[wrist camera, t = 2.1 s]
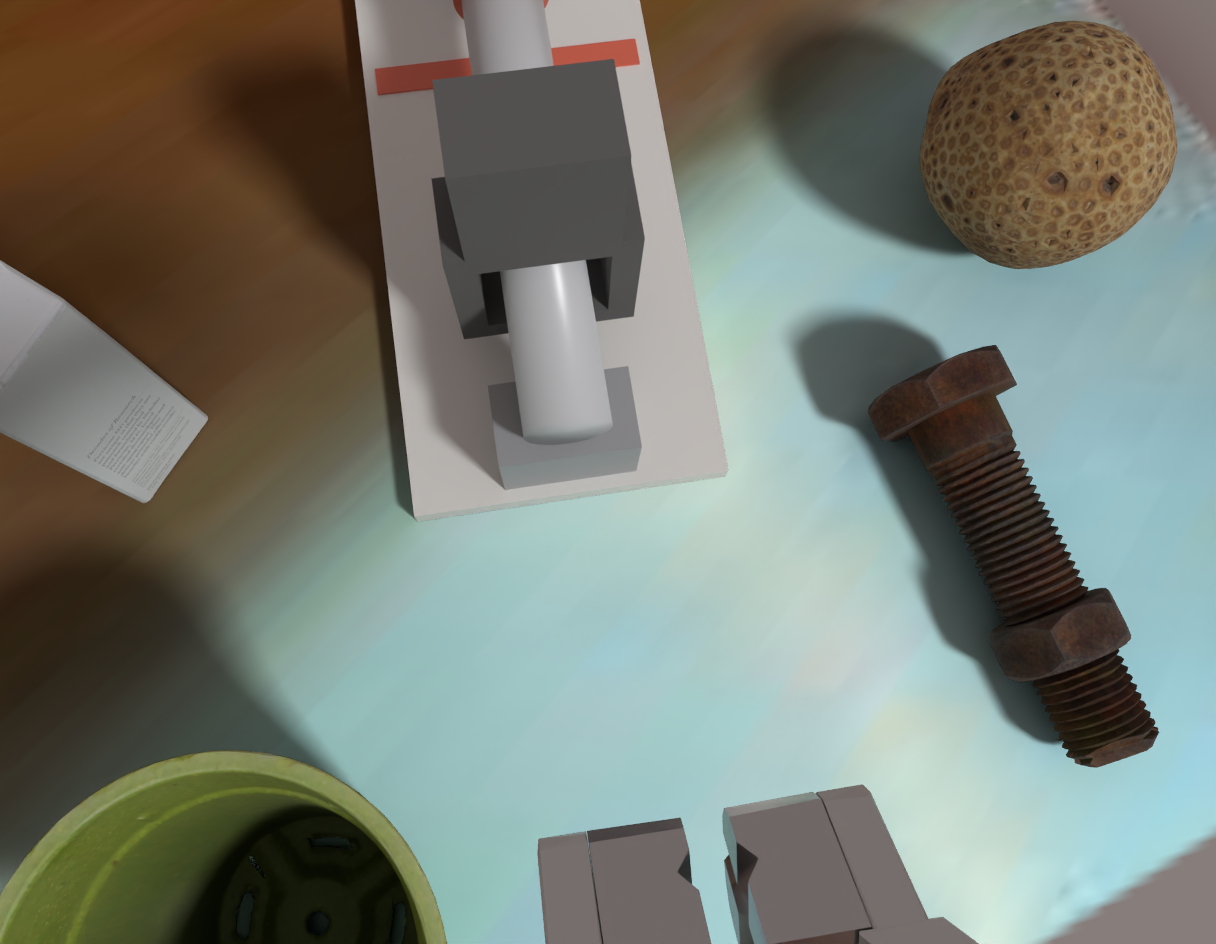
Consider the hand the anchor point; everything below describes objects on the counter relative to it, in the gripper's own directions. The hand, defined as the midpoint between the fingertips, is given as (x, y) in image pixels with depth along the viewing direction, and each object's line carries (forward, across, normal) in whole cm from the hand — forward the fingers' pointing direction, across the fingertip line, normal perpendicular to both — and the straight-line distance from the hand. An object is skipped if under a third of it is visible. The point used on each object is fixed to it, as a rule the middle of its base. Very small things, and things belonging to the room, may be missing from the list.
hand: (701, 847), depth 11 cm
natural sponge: (+33, -19, +6) cm, 39 cm away
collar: (+30, 0, +5) cm, 30 cm away
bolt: (+23, -16, +16) cm, 32 cm away
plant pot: (+17, +11, +22) cm, 30 cm away
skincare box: (+30, +17, +9) cm, 36 cm away
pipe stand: (+36, 0, +3) cm, 36 cm away
